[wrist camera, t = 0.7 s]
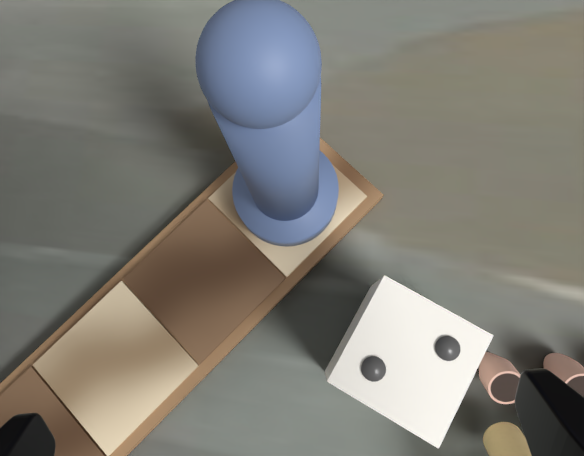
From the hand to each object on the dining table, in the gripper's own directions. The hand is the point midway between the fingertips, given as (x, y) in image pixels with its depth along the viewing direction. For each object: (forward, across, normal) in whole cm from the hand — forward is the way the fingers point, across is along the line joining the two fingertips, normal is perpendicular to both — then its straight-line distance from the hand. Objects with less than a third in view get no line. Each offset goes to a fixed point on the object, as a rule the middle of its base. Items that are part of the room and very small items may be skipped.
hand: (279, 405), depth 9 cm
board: (+11, +6, +8) cm, 15 cm away
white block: (+9, -4, +9) cm, 14 cm away
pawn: (+14, 0, +3) cm, 15 cm away
